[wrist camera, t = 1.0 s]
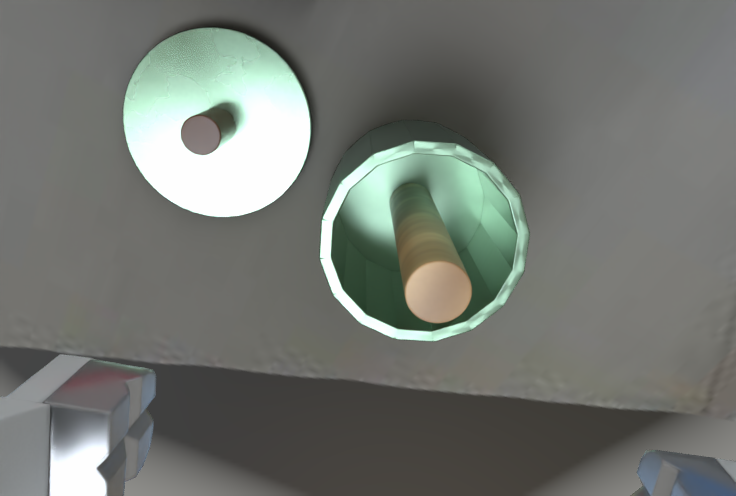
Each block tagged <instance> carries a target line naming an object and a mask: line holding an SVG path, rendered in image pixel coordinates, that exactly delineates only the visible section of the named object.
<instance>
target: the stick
mask: <svg viewBox="0 0 736 496" xmlns="http://www.w3.org/2000/svg"><path fill="white" fill-rule="evenodd" d="M390 212H391V218H392V224H393V230H394V235H395V241H396V247H397V253H398V259H399V265H400V271H401V277H402V283H403V289H404V295H405V300H406V303H407V306H408V307H409V309H410V310H411V312H412V313H413V314H414V315H415V316H417V317H418V318H420V319H421V320H424V321H426V322H430V323H445V322H448V321H451V320H453V319H455V318H457V317H458V316H460V315H461V314H462V313H463V312H464V311H465V309H466V308H467V307H468V305H469V303H470V300H471V296H472V285H471V281H470V279H469V276H468V274H467V272H466V270H465V268H464V265H463V263H462V261H461V259H460V257H459V255H458V253H457V250H456V248H455V246H454V244H453V242H452V240H451V237H450V235H449V233H448V231H447V229H446V227H445V224H444V222H443V220H442V218H441V216H440V214H439V211H438V209H437V207H436V205H435V203H434V201H433V198H432V196H431V194H430V192H429V191H428V190H427V189H426V188H425V187H424V186H422V185H420V184H417V183H407V184H404V185H401V186H400V187H398V188H397V189H396V190H395V191H394V192H393V194H392V196H391V198H390Z"/></svg>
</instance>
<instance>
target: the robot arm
mask: <svg viewBox="0 0 736 496" xmlns="http://www.w3.org/2000/svg"><path fill="white" fill-rule="evenodd" d="M155 394H156V375H155V373H154V370H151V369H145V368H140V367H135V366H129V365H123V364H118V363H112V362H106V361H100V360H94V359H92V358H87V357H79V356H71V355H59V356H57V357H56V358H55V359H54V360H52V361H51V362H50V363H49V364H47V365H46V366H45V367H43V368H42V369H41V370H40V371H38V372H37V373H36V374H35V375H33V376H32V377H31V378H30V379H28V380H27V381H26V382H25V383H23V384H22V385H21V386H19V387H18V388H17V389H16V390H14V391H13V392H12V393H11V394H9V395H8V396H7V397H0V496H124V489H125V482H126V481H128V480H131V479H133V478H135V477H136V476H137V475H138V473H139V471H140V470H141V468H142V467H143V465H144V462H145V459H146V457H147V454H148V451H149V448H150V444H151V439H152V434H153V422H154V420H153V418H152V417H151V415H150V413H149V412H148V410H147V408H146V407H147V406H148V405H149V403H150V402H151V401H152V399H153V398H154V397H155ZM637 474H638V476H639V478H640V481H641V483H642V485H643V486H642V487H641V488H639V489H638V490H637V491H636V492H635V493H633V494H632V495H631V496H736V461H732V460H723V459H715V458H712V457H704V456H696V455H689V454H682V453H674V452H667V451H660V450H647V451H646V452H645V454H644V455H643V457H642V458H641V461H640V464H639V467H638V470H637Z"/></svg>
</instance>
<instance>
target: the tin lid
mask: <svg viewBox="0 0 736 496" xmlns="http://www.w3.org/2000/svg"><path fill="white" fill-rule="evenodd" d="M123 127H124V134H125V138H126V142H127V146H128V148H129V151H130V154H131V156H132V158H133V160H134V162H135V164H136V166H137V168H138V169H139V171H140V172H141V174H142V175H143V176H144V178H145V179H146V180H147V181H148V182H149V184H150V185H151V186H152V187H153V188H154V189H155V190H156V191H158V192H159V193H160V194H161V195H162V196H164V197H165V198H166V199H168V200H169V201H171V202H172V203H174V204H176V205H178V206H180V207H181V208H184V209H186V210H189V211H191V212H194V213H198V214H201V215H205V216H213V217H234V216H241V215H245V214H249V213H253V212H255V211H258V210H260V209H262V208H264V207H266V206H268V205H270V204H271V203H273V202H274V201H276V200H277V199H278V198H279V197H281V196H282V195H283V194H284V193H285V192H286V191H287V190H288V189H289V188H290V187H291V185H292V184H293V183H294V181H295V180H296V179H297V177H298V175H299V174H300V172H301V170H302V168H303V166H304V164H305V161H306V159H307V156H308V152H309V148H310V144H311V135H312V120H311V113H310V107H309V103H308V100H307V96H306V94H305V91H304V89H303V87H302V84H301V82H300V81H299V79H298V77H297V75H296V74H295V72H294V71H293V70H292V68H291V67H290V66H289V64H288V63H287V62H286V61H285V60H284V59H283V58H282V57H281V56H280V55H279V54H278V53H277V52H276V51H275V50H273V49H272V48H271V47H270V46H268V45H267V44H265V43H264V42H262V41H260V40H259V39H257V38H255V37H253V36H250V35H248V34H246V33H243V32H239V31H236V30H232V29H226V28H219V27H203V28H195V29H190V30H186V31H183V32H180V33H177V34H175V35H173V36H170V37H168V38H167V39H165V40H164V41H162V42H160V43H159V44H157V45H156V46H155V47H154V48H153V49H152V50H150V51H149V52H148V53H147V54H146V56H145V57H144V58H143V59H142V60H141V61H140V63H139V64H138V66H137V67H136V69H135V71H134V72H133V74H132V77H131V79H130V81H129V83H128V86H127V90H126V93H125V98H124V104H123Z"/></svg>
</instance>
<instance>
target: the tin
mask: <svg viewBox="0 0 736 496" xmlns="http://www.w3.org/2000/svg"><path fill="white" fill-rule="evenodd" d="M407 183H417V184H420V185H422V186H424V187H425V188H426V189H427V190H428V191H429V192H430V194H431V196H432V198H433V201H434V203H435V205H436V207H437V209H438V211H439V214H440V216H441V218H442V220H443V222H444V224H445V227H446V229H447V231H448V233H449V235H450V237H451V240H452V242H453V244H454V246H455V248H456V250H457V253H458V255H459V257H460V259H461V261H462V263H463V265H464V268H465V270H466V272H467V274H468V276H469V279H470V281H471V285H472V296H471V300H470V303H469V305H468V307H467V308H466V309H465V311H464V312H463V313H462V314H461V315H460V316H458V317H457V318H455V319H453V320H451V321H448V322H445V323H430V322H426V321H424V320H421V319H420V318H418V317H417V316H415V315H414V314H413V313H412V312H411V310H410V309H409V307H408V306H407V303H406V300H405V295H404V289H403V283H402V277H401V271H400V265H399V259H398V253H397V247H396V241H395V235H394V230H393V224H392V218H391V212H390V198H391V196H392V194H393V192H394V191H395V190H396V189H397V188H398V187H400V186H401V185H404V184H407ZM529 237H530V231H529V227H528V224H527V220H526V216H525V212H524V208H523V205H522V201H521V197H520V195H519V193H518V192H517V190H516V189H515V188H514V187H513V185H512V184H511V183H510V182H509V180H508V179H507V178H506V177H505V176H504V174H503V173H502V172H501V171H500V169H499V168H498V167H497V166H496V164H495V163H494V162H492V161H491V160H490V159H489V158H488V157H487V156H486V155H484V154H483V153H482V152H481V151H480V150H479V149H478V148H476V147H475V146H474V145H473V144H472V143H471V142H469V141H468V140H467V139H466V138H465V137H463V136H461V135H459V134H457V133H455V132H454V131H452V130H450V129H448V128H446V127H444V126H442V125H440V124H438V123H435V122H426V121H419V120H401V121H398V122H393V123H390V124H386V125H383V126H381V127H378V128H376V129H374V130H371V131H369V132H368V133H367V134H366V135H364V136H363V137H362V138H360V139H359V140H358V141H357V142H356V143H355V144H354V145H353V146H352V147H351V148H350V149H348V150H347V151H346V152H345V154H344V155H343V157H342V159H341V161H340V163H339V165H338V167H337V169H336V171H335V173H334V175H333V177H332V179H331V182H330V186H329V190H328V194H327V198H326V202H325V206H324V210H323V214H322V218H321V231H320V249H319V258H320V259H319V260H320V262H321V265H322V268H323V270H324V273H325V276H326V279H327V281H328V284H329V287H330V289H331V292H332V294H333V296H334V297H335V298H336V299H337V300H338V301H339V302H340V303H341V304H342V305H343V306H344V308H345V309H346V310H347V311H348V312H349V313H350V314H351V315H352V316H353V317H354V318H355V319H356V320H357V321H358V322H359V323H360V324H362V325H365V326H367V327H369V328H371V329H373V330H375V331H378V332H380V333H382V334H384V335H386V336H388V337H391V338H393V339H399V340H415V341H430V342H433V341H434V342H435V341H438V340H442V339H445V338H448V337H452V336H455V335H458V334H462V333H465V332H468V331H471V330H473V329H474V328H475V327H477V326H478V325H479V324H481V323H482V322H483V321H485V320H486V319H487V318H489V317H490V316H491V315H493V314H494V313H495V312H497V311H498V310H499V309H500V308H502V307H503V306H504V304H505V303H506V301H507V299H508V298H509V296H510V295H511V293H512V291H513V290H514V288H515V286H516V285H517V283H518V281H519V280H520V278H521V277H522V275H523V272H524V269H525V263H526V257H527V250H528V244H529Z"/></svg>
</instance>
